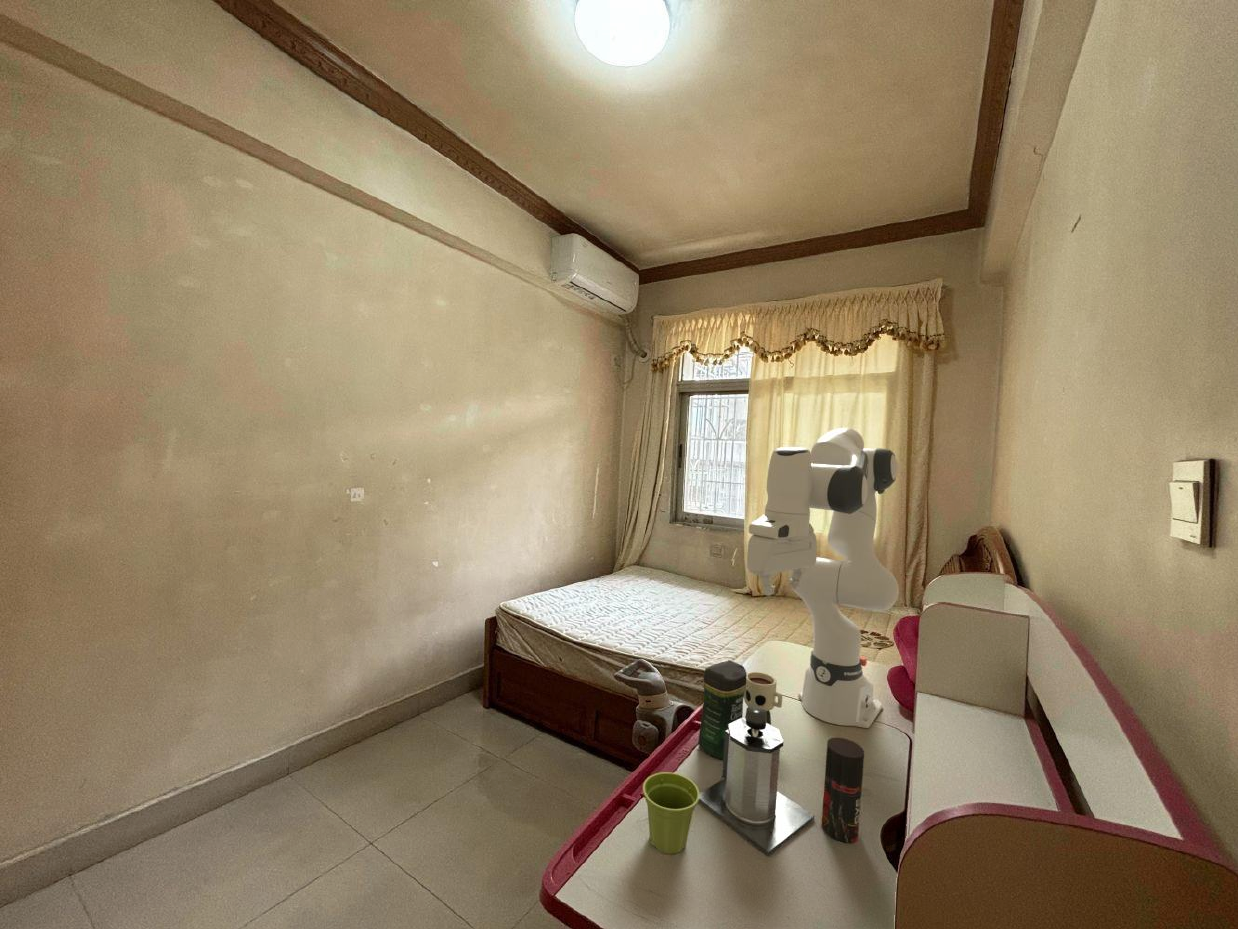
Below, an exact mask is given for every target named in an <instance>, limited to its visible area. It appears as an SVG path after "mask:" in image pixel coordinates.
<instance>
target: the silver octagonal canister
mask: <svg viewBox="0 0 1238 929" xmlns="http://www.w3.org/2000/svg"><path fill="white" fill-rule="evenodd" d="M752 730H753V729H752V728H750V727H748V726H747V725H746V719H745V717H742V718H740V719H738V720H736V721H734V722H732V723H730V724H728V730H726V731H725V741H724V757H723V759H722V760H723V761H722V772H721V774H722V775H721V777H722V778H723V779H721V780H720V781H717V782H715V783H713V784H712V785H711V786H709V787H707V788H705V789H704V790H702V791H699V800H698V803H699V804H700V805H701V806H703V807H704V808H705V809H706V810H708V811H709V812H711V814H713V815H714V816H716V817H717V818H718V819H719V820H720V821H722V823H724V824H726V825H727V826H728V827H730V828H731V829H732V830H733V831H735V832H736V833H737V834H738V835H740V836H741V837H742V838H743V839H745V840H746V841H747V842H749V843H750V844H751V845H752V846H754V847H755V848H756V849H757V850H758V851H760V852H761V853H763V854H764V855H765V856H766V857H769V856H771V855H772V854H773V853H775V852H776V851H777V850H778V849H779V848H781V847H783V845H784V844H786V843H787V842H788V841H790V840H791V839H792V838H793V837H795V836H796V835H797V834H799V833H800V832H801V831H802V830H803V829H805V828H806V827H807V826H808V825H810V824H811V823H812V822H813V821H815V815H814V814H812V813H811V812H810V811H808V810H806V809H804V808H803V807H801V806H800V805H799V804H797V803H796V802H794V801H792V800H791V799H789V798H788V797H786V796H785V795H783V793H781V792H779V791H778V787H779V786H778V785H779V784H778V783H779V768H780V755H781V754H780V753H781V748H782V747H784V739H783V737H782V734H781V731H780V729H779V728H776V727H775V726H772V724H771V725H769V724H767V723H766V728H765V729H763V730H758V737H753V736H752Z"/></svg>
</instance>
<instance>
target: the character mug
mask: <svg viewBox="0 0 1238 929" xmlns="http://www.w3.org/2000/svg"><path fill="white" fill-rule="evenodd" d="M746 673H747V676H746V688H745V692H744V698H743V703H745V705H746V706H747V708H748V707H750V706H756V707H760V708H762V709H764V710H765V711H766V712H767V720H766V723H767V724H769V725H771V726H772V718H771V710H773V709H774V707H777V708H782V706H783V694H782V693H781V692H779V691H777V680H776V678H775V677H774V675H773V676H772V675H770V674H769V673H765V672H761V671H750V672H746ZM776 697H777V701H776ZM744 718H745V719H746V715H745V717H744Z"/></svg>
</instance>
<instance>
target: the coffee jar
mask: <svg viewBox="0 0 1238 929" xmlns="http://www.w3.org/2000/svg"><path fill="white" fill-rule="evenodd" d="M703 672H704V674H703V679H702V681H703V682H702V683H703V684H702V685H703V701H702V702H703V703H702V704H703V705H702V713H701V721H700V725H699V726H700V727H699V732H698V733H699V734H698V746H699V747H700V748H701V750H702V751H703V752H705V753H706V754H707V755H709V756H711V757H715V758H719V759H722V760H723V757H724V741H725V731H726V730H728V724H730V723H732V722H734V721H736V720H738V719H740V718H743V717H744V716H743V714H744V713H743V711H744V692H745V688H746V676H747V673H748V672H747V671H746V668H745V667H744V666H743V665H742V664H739V663H737V662H735V661H733V660H730V659H728V660H727V661H720V662H719V663H716V664H712V665H710V666H708V667H706V668H705V669H704V671H703Z"/></svg>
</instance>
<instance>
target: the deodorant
mask: <svg viewBox="0 0 1238 929" xmlns="http://www.w3.org/2000/svg"><path fill="white" fill-rule="evenodd" d="M826 743H827V744H826V757H825V771H824V773H825V774H824V784H823V786H824V787H823V798H822V811H821V812H822V813H821V829H822V831H823V832H824V833H825V835H827V836H828V837H829V838H830V839H832V840H834V841H835V842H838V843H840V844H846V845H847V844H850V845H851V844H854V843H855V842H857V840H858V838H859V828H860V816H861V804H862V802H861V801H862V790H863V789H862V787H863V775H864V763H865V750H864V748H863V747H862V746H861V745H860V744H858V742H855V741H853V740H850V739H848V738H846V737H845V738H844V737H831V738H829V739H828V740H827V742H826Z"/></svg>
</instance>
